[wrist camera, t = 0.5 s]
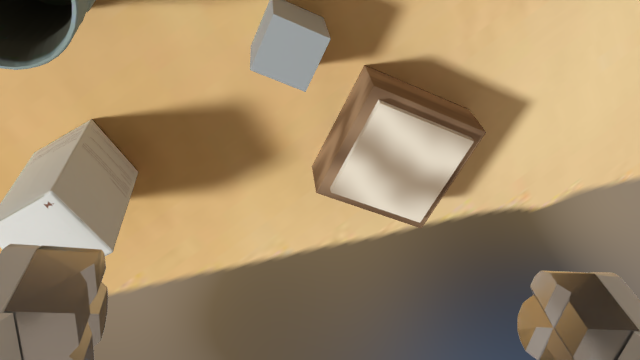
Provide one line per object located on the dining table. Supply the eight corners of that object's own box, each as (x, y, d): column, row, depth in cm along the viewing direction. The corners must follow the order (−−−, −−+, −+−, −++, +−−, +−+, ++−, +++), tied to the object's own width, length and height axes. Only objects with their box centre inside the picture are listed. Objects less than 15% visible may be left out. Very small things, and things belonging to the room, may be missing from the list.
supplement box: (31, 151, 54) (-24, 230, 44) (93, 116, 53) (51, 189, 42) (83, 205, 58) (44, 289, 48) (141, 173, 57) (115, 253, 46)
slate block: (271, -6, 49) (273, 13, 44) (323, 17, 50) (330, 38, 45) (250, 46, 51) (250, 70, 46) (300, 66, 52) (305, 91, 47)
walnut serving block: (364, 65, 53) (375, 89, 48) (468, 109, 56) (489, 136, 52) (312, 166, 58) (317, 197, 53) (410, 201, 62) (423, 233, 57)
